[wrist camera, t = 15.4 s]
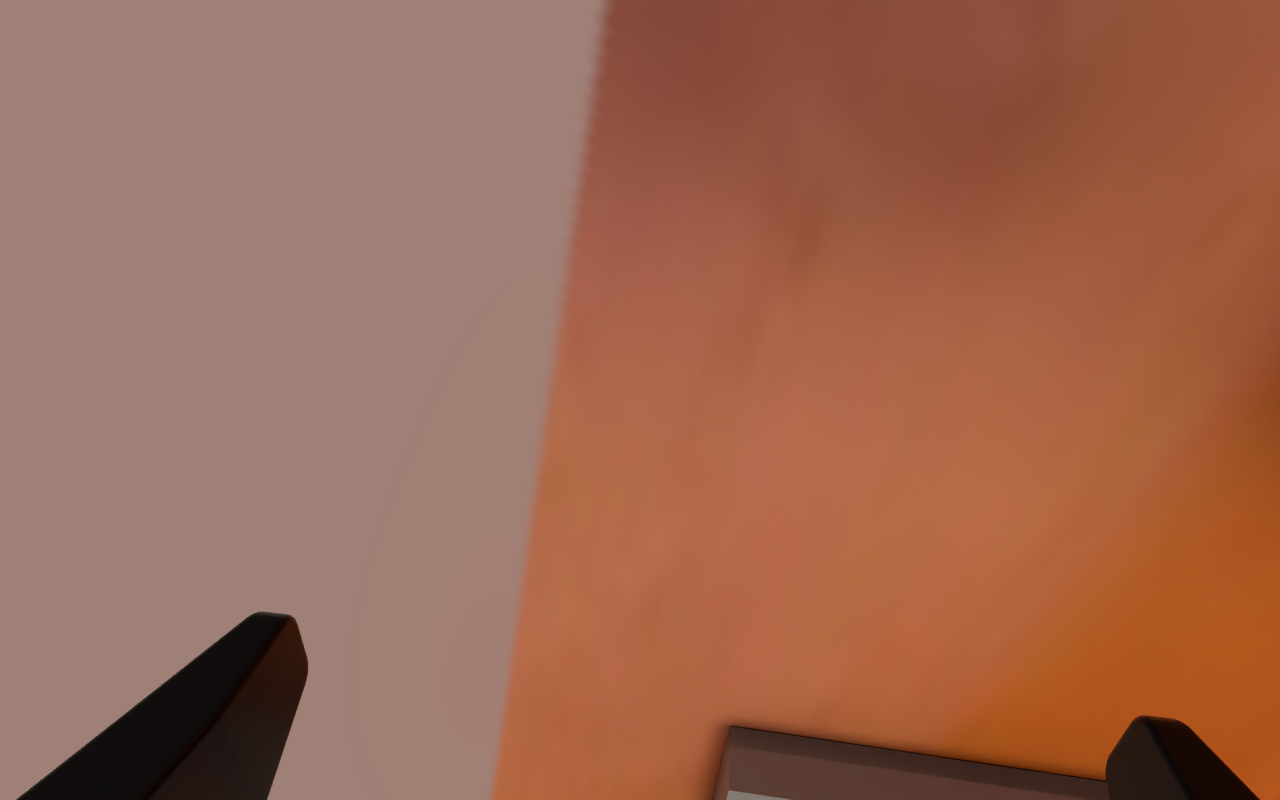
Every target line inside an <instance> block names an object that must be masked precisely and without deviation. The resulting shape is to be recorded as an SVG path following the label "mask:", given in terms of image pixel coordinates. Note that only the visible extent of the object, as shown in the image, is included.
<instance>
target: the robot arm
mask: <svg viewBox="0 0 1280 800" xmlns="http://www.w3.org/2000/svg"><path fill="white" fill-rule="evenodd" d="M307 674H308V660H307V656H306V652H305V649H304V645H303V642H302V639H301V635H300V631H299V628H298V624H297V622H296V620H295V619H294V618H293V617H292V616H291V615H287V614H279V613H271V612H257V613H254V614H252V615H250V616H249V617H247V618H246V619H245V620H243V621H242V622H241V623H240V624H238V625H237V626H236V627H234V628H233V629H232V630H231V631H229V632H228V633H227V634H226V635H224V636H223V637H222V638H220V639H219V640H218V641H217V642H215V643H214V644H213V645H212V646H210V647H209V648H208V649H207V650H205V651H204V652H203V653H201V654H200V655H199V656H198V657H196V658H195V659H194V660H193V661H191V662H190V663H189V664H188V665H186V666H185V667H184V668H183V669H181V670H180V671H179V672H177V673H176V674H175V675H174V676H172V677H171V678H170V679H169V680H167V681H166V682H165V683H163V684H162V685H161V686H160V687H158V688H157V689H156V690H155V691H153V692H152V693H151V694H149V695H148V696H147V697H146V698H144V699H143V700H142V701H141V702H139V703H138V704H137V705H136V706H134V707H133V708H132V709H131V710H129V711H128V712H127V713H125V714H124V715H123V716H122V717H120V718H119V719H118V720H117V721H115V722H114V723H113V724H111V725H110V726H109V727H108V728H106V729H105V730H104V731H103V732H101V733H100V734H99V735H98V736H96V737H95V738H94V739H93V740H91V741H90V742H89V743H87V744H86V745H85V746H84V747H82V748H81V749H80V750H79V751H77V752H76V753H75V754H73V755H72V756H71V757H70V758H68V759H67V760H66V761H65V762H63V763H62V764H61V765H59V766H58V767H57V768H56V769H54V770H53V771H52V772H51V773H49V774H48V775H47V776H46V777H44V778H43V779H42V780H40V781H39V782H38V783H37V784H35V785H34V786H33V787H32V788H30V789H29V790H28V791H27V792H25V793H24V794H23V795H21V796H20V797H19V798H18V799H17V800H267V798H268V795H269V792H270V789H271V786H272V783H273V780H274V777H275V774H276V771H277V768H278V765H279V762H280V759H281V756H282V753H283V750H284V747H285V744H286V741H287V738H288V735H289V732H290V729H291V726H292V723H293V719H294V717H295V714H296V711H297V708H298V705H299V701H300V699H301V696H302V692H303V689H304V687H305V683H306V679H307ZM1106 783H1107V789H1108V794H1109V800H1260V799H1259V798H1258V797H1257V796H1256V795H1255V794H1254V793H1253V792H1252V791H1251V790H1250V789H1249V788H1248V787H1247V786H1246V785H1245V784H1244V783H1243V782H1242V781H1241V780H1240V779H1239V778H1238V777H1237V776H1236V775H1235V774H1234V773H1233V772H1232V771H1231V769H1230V768H1229V767H1228V766H1227V765H1226V764H1225V763H1224V762H1223V761H1222V760H1221V759H1220V758H1219V757H1218V756H1217V755H1216V754H1215V753H1214V752H1213V751H1212V750H1211V749H1210V748H1209V747H1208V746H1207V745H1206V744H1205V743H1204V742H1203V741H1202V740H1201V739H1200V738H1199V737H1198V736H1197V735H1196V734H1195V733H1194V732H1193V731H1192V730H1191V729H1190V728H1189V727H1188V726H1187V725H1185V724H1184V723H1183V722H1181V721H1179V720H1175V719H1171V718H1163V717H1154V716H1145V715H1143V716H1139V717H1137V718H1135V719H1134V720H1133V721H1132V722H1131V724H1130V725H1129V727H1128V728H1127V730H1126V731H1125V733H1124V734H1123V736H1122V737H1121V739H1120V740H1119V742H1118V743H1117V745H1116V746H1115V748H1114V749H1113V751H1112V752H1111V754H1110V755H1109V757H1108V760H1107V764H1106Z"/></svg>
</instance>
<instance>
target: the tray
mask: <svg viewBox="0 0 1280 800" xmlns="http://www.w3.org/2000/svg"><path fill="white" fill-rule="evenodd" d="M712 800H1109V794H1108V789H1107V783H1106V782H1103V781H1096V780H1090V779H1083V778H1076V777H1069V776H1063V775H1056V774H1049V773H1042V772H1036V771H1029V770H1022V769H1015V768H1009V767H1002V766H995V765H988V764H982V763H975V762H968V761H961V760H954V759H948V758H941V757H934V756H927V755H921V754H914V753H907V752H900V751H894V750H887V749H880V748H873V747H867V746H860V745H853V744H846V743H840V742H833V741H826V740H819V739H813V738H806V737H799V736H792V735H786V734H779V733H772V732H765V731H759V730H752V729H745V728H738V727H732V726H731V727H730V731H729V735H728V739H727V743H726V747H725V751H724V755H723V759H722V763H721V767H720V771H719V775H718V779H717V783H716V787H715V791H714V795H713V799H712Z"/></svg>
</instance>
